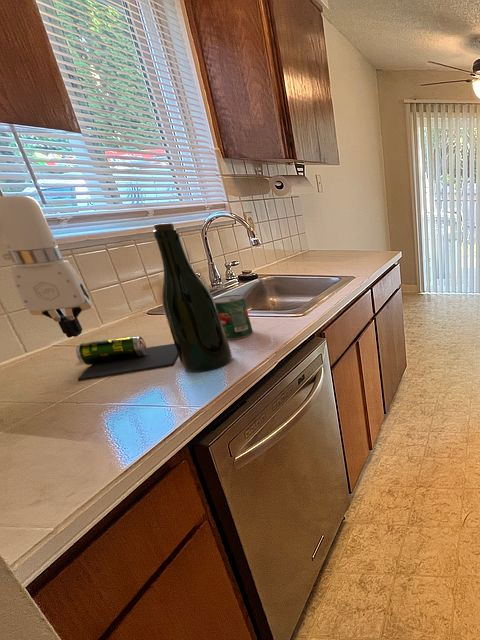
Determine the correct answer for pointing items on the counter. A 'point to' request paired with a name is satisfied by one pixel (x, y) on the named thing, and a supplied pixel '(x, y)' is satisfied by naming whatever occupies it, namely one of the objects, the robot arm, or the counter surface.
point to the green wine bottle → (189, 307)
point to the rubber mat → (134, 363)
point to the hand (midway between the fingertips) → (74, 335)
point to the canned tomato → (234, 316)
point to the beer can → (111, 350)
